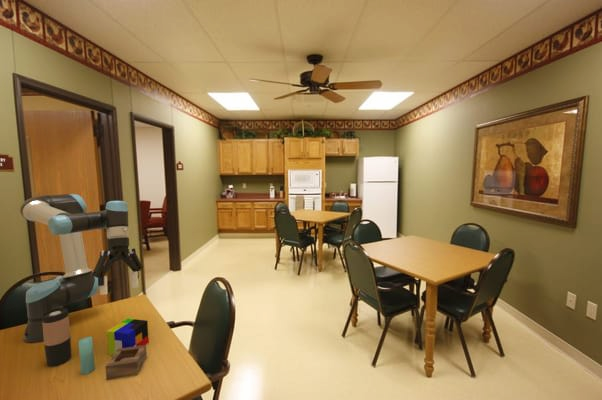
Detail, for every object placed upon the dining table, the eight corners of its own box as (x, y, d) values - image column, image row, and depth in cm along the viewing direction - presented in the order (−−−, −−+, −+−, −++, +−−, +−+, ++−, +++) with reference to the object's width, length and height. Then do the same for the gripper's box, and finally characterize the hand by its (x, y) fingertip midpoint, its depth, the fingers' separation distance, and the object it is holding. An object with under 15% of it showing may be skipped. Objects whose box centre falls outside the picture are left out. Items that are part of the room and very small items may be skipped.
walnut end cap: (118, 361, 105) (117, 348, 104) (146, 356, 107) (146, 345, 106) (106, 379, 95) (105, 366, 94) (137, 374, 97) (136, 361, 97)
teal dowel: (84, 367, 101) (82, 337, 100) (96, 365, 102) (94, 335, 101) (78, 375, 97) (76, 343, 96) (91, 373, 98) (88, 342, 97)
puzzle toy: (129, 357, 107) (128, 333, 106) (108, 354, 109) (107, 331, 108) (148, 342, 116) (147, 320, 116) (129, 340, 118) (127, 318, 118)
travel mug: (42, 370, 100) (37, 319, 98) (50, 358, 107) (45, 310, 105) (68, 363, 104) (64, 314, 102) (74, 352, 110) (70, 305, 109)
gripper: (94, 237, 98) (96, 296, 94) (150, 236, 122) (152, 283, 118) (79, 240, 100) (80, 298, 96) (136, 238, 123) (139, 285, 120)
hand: (120, 290), depth 107 cm, fingers open, 13 cm apart
